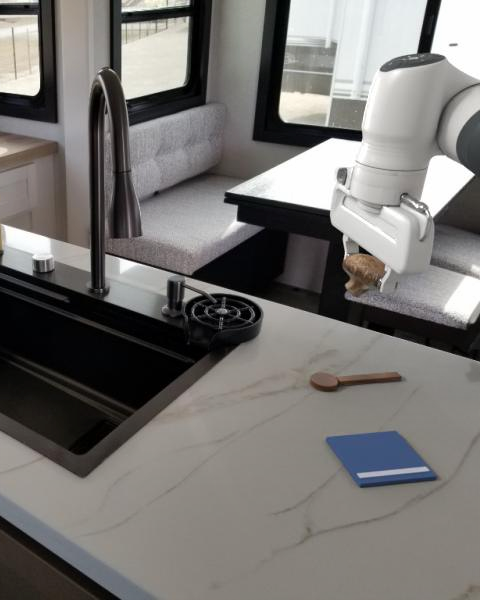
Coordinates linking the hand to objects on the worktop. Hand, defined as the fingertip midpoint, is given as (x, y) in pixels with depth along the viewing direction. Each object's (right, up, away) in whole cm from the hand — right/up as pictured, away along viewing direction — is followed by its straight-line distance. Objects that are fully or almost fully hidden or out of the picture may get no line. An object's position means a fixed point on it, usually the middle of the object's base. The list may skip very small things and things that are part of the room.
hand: (366, 277), depth 91 cm
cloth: (-3, -24, -9) cm, 26 cm away
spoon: (0, -16, +6) cm, 17 cm away
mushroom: (+1, -2, +1) cm, 3 cm away
